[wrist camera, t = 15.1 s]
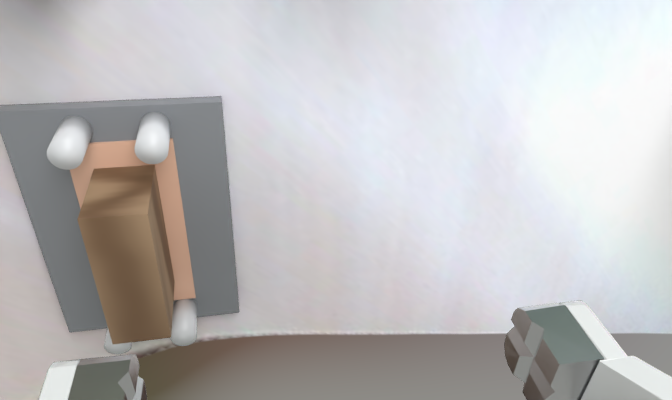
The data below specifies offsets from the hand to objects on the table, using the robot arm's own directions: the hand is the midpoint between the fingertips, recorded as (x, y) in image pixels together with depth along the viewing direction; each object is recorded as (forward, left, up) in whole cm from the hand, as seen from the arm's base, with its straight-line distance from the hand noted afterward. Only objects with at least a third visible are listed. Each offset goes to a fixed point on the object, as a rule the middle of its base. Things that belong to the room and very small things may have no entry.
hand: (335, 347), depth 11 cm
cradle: (+9, +16, -28) cm, 33 cm away
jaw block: (+9, +16, -27) cm, 32 cm away
